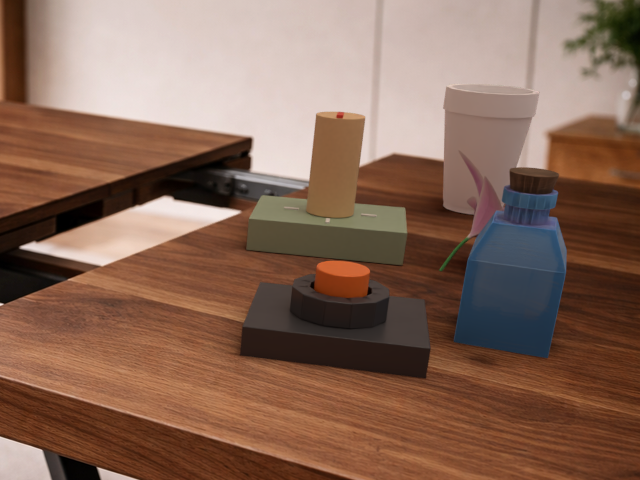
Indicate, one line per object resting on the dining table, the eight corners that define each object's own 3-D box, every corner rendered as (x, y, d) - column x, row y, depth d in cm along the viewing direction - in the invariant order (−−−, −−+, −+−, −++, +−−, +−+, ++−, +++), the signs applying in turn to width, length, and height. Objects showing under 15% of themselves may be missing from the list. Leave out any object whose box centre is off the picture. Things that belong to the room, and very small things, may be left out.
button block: (420, 327, 70) (428, 275, 69) (425, 380, 61) (435, 321, 60) (257, 309, 73) (262, 258, 71) (239, 357, 64) (244, 300, 62)
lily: (519, 316, 76) (592, 212, 74) (391, 239, 79) (458, 138, 77) (510, 315, 88) (573, 225, 86) (398, 248, 91) (457, 160, 89)
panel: (400, 237, 94) (405, 205, 93) (402, 265, 85) (407, 231, 84) (259, 224, 97) (261, 193, 96) (246, 250, 88) (248, 216, 87)
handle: (308, 204, 92) (318, 107, 89) (354, 209, 91) (366, 110, 88) (304, 215, 88) (314, 113, 85) (352, 219, 87) (365, 116, 84)
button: (367, 287, 67) (370, 263, 66) (366, 303, 63) (370, 278, 63) (315, 281, 68) (318, 258, 67) (312, 297, 64) (314, 272, 64)
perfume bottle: (453, 343, 67) (482, 174, 63) (462, 316, 73) (489, 159, 68) (547, 359, 65) (584, 186, 61) (549, 331, 70) (583, 169, 66)
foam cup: (530, 220, 102) (553, 96, 97) (443, 217, 102) (463, 93, 97) (498, 199, 111) (519, 85, 106) (419, 197, 111) (436, 82, 106)
